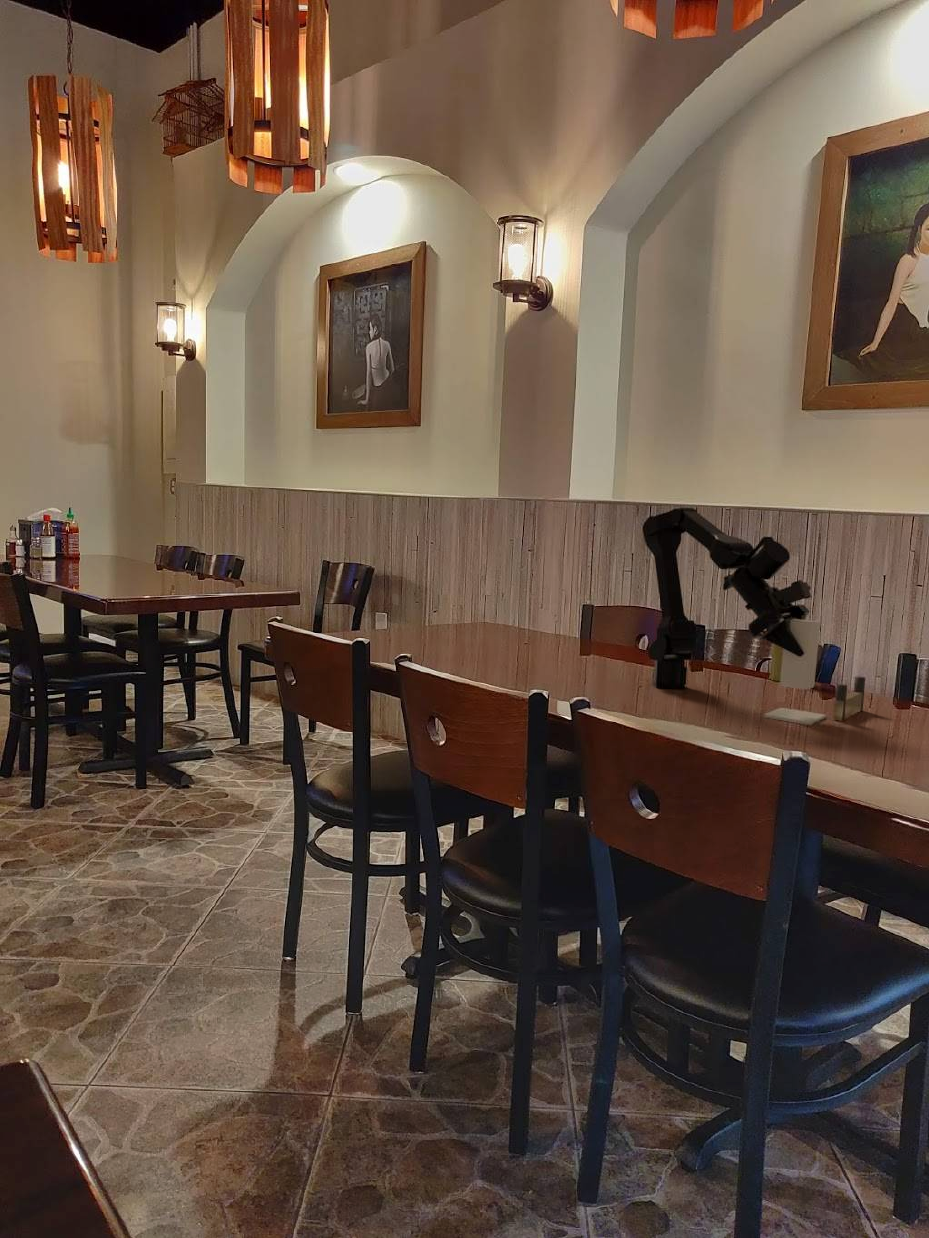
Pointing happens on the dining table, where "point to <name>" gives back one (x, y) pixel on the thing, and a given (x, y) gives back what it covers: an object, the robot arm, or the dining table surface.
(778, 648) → the vase
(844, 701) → the rack
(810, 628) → the beige tall rectangular block
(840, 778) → the dining table surface
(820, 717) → the coaster
